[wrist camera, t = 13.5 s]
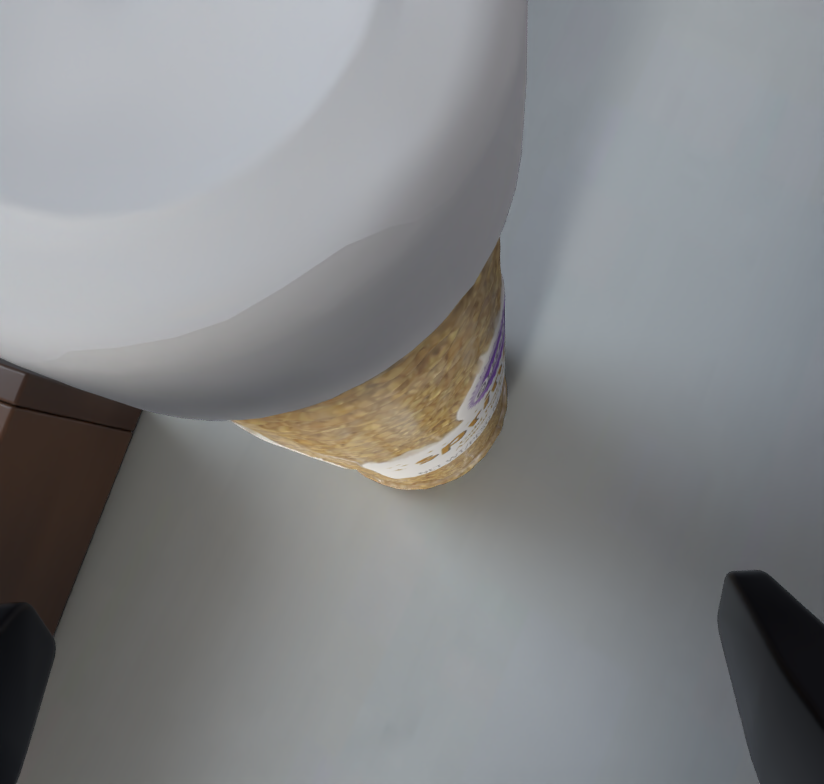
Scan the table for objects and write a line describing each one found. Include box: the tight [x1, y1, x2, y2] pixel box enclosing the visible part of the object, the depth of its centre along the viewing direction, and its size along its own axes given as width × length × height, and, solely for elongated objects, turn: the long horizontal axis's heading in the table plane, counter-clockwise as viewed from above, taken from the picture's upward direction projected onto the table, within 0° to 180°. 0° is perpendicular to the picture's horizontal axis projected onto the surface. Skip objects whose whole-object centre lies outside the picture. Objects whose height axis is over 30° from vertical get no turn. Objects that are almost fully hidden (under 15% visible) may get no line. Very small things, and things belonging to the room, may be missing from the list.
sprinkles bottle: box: [0, 0, 528, 490], centre depth 10 cm, size 5×5×14 cm
